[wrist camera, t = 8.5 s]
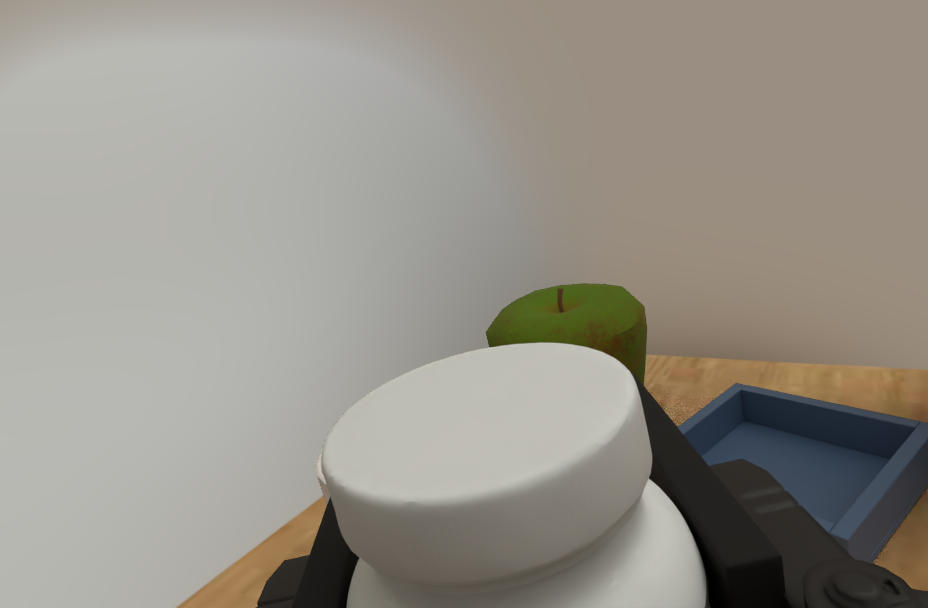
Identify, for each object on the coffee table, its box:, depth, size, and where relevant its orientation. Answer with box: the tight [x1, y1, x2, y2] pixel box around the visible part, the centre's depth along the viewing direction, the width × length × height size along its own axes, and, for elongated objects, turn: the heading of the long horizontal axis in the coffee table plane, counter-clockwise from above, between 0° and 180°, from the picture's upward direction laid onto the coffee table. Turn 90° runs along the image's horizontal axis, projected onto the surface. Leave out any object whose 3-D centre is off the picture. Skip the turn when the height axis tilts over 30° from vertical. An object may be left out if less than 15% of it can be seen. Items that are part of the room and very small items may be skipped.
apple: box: [486, 284, 647, 386], centre depth 45 cm, size 12×12×11 cm
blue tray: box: [678, 383, 928, 564], centre depth 33 cm, size 12×12×3 cm
